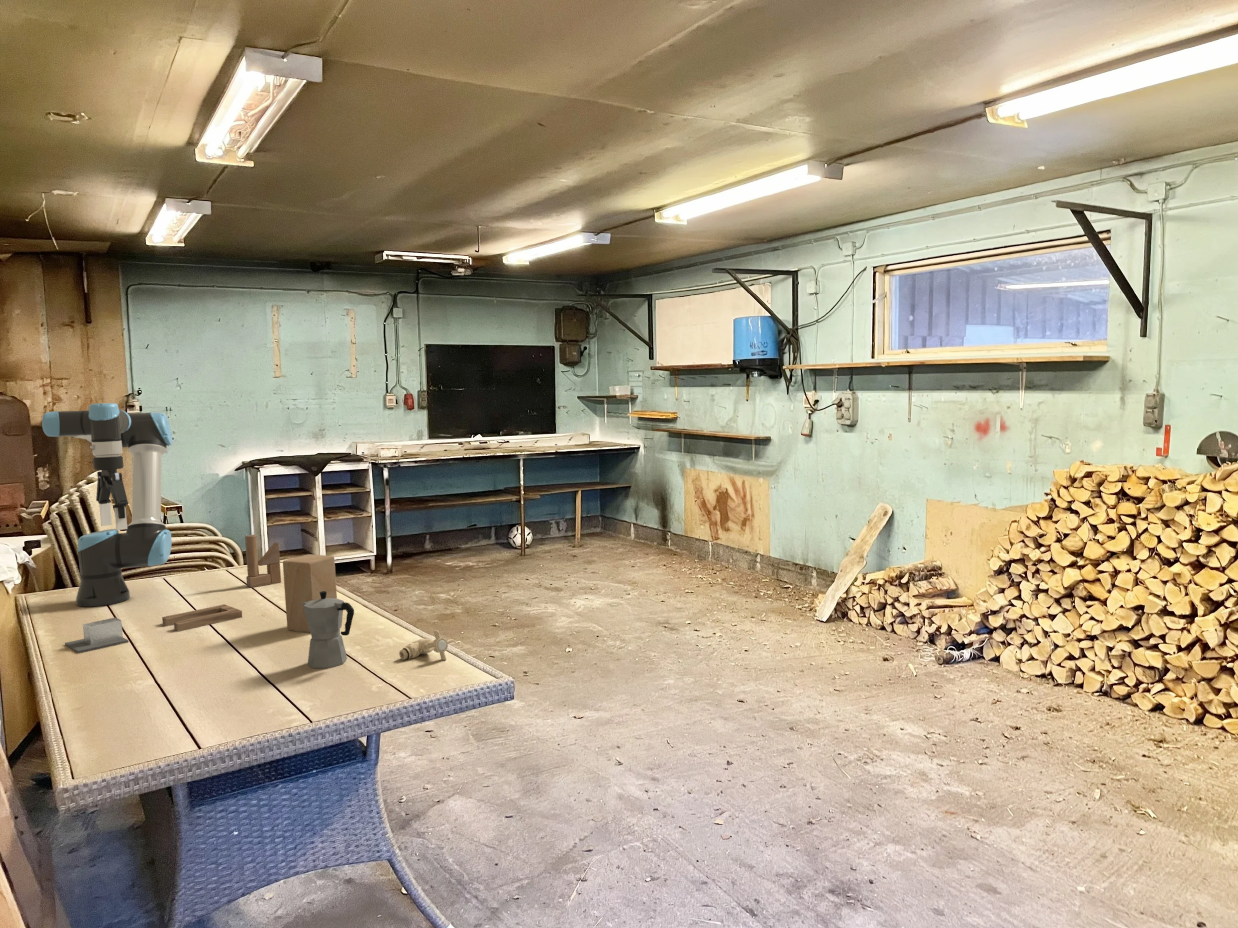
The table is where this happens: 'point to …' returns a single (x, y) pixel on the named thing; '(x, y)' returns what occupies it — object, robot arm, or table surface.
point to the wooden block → (306, 586)
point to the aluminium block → (102, 631)
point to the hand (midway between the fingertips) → (114, 527)
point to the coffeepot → (327, 631)
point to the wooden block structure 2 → (269, 559)
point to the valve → (425, 647)
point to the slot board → (202, 617)
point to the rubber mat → (81, 646)
